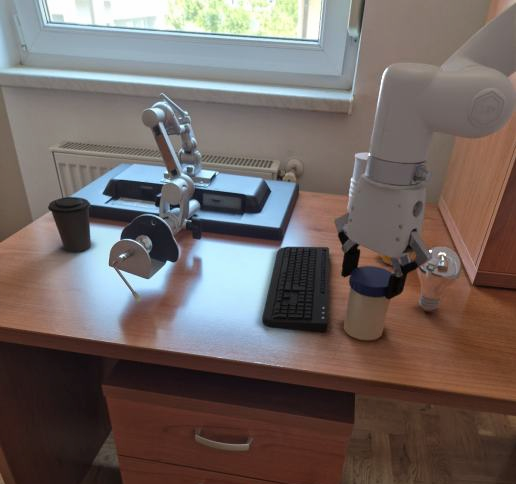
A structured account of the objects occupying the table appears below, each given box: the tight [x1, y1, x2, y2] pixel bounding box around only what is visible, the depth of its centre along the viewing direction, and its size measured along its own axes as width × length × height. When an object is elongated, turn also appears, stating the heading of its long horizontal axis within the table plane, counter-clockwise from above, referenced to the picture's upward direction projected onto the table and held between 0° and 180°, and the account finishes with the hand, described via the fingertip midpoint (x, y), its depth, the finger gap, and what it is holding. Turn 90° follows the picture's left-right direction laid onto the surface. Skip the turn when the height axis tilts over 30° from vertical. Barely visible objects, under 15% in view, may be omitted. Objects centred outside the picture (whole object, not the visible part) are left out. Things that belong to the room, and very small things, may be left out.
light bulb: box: [416, 245, 462, 313], centre depth 81 cm, size 7×7×12 cm
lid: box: [348, 265, 394, 297], centre depth 74 cm, size 7×7×2 cm
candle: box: [346, 152, 369, 213], centre depth 115 cm, size 7×7×15 cm
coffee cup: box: [47, 196, 92, 253], centre depth 98 cm, size 8×8×10 cm
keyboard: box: [261, 246, 330, 333], centre depth 90 cm, size 30×11×2 cm, turn 173°
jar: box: [343, 286, 391, 341], centre depth 76 cm, size 6×6×9 cm
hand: (370, 284), depth 74 cm, fingers open, 8 cm apart
